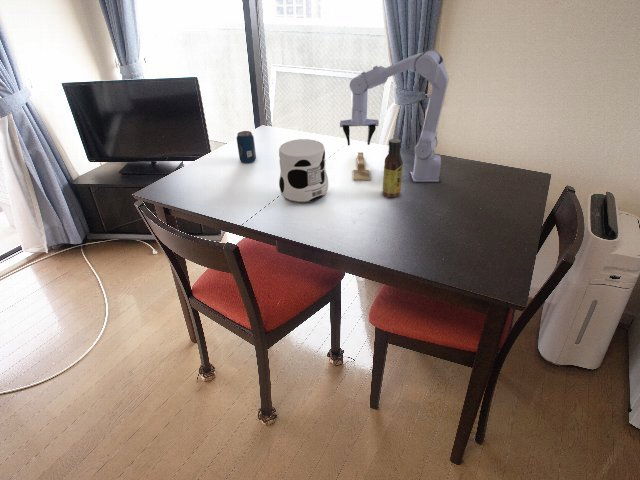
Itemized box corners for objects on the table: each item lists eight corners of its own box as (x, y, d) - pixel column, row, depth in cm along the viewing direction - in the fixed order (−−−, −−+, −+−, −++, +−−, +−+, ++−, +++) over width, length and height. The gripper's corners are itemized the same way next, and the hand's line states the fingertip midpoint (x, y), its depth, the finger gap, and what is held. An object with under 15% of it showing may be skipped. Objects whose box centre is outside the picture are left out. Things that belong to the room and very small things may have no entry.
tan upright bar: (369, 180, 158) (370, 173, 157) (353, 180, 158) (354, 173, 157) (367, 158, 175) (367, 152, 173) (352, 158, 175) (352, 152, 173)
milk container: (290, 181, 159) (287, 136, 149) (334, 186, 155) (333, 140, 145) (272, 203, 146) (267, 155, 136) (320, 209, 141) (318, 160, 131)
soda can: (238, 159, 178) (233, 132, 171) (253, 156, 180) (250, 129, 173) (242, 165, 173) (238, 137, 166) (258, 162, 175) (255, 134, 168)
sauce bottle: (399, 199, 146) (404, 145, 134) (381, 198, 147) (384, 144, 135) (400, 190, 151) (405, 137, 139) (383, 189, 152) (386, 136, 141)
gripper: (377, 105, 158) (376, 139, 166) (339, 106, 159) (339, 140, 166) (379, 111, 153) (378, 146, 160) (340, 112, 153) (340, 147, 161)
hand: (358, 144), depth 163 cm, fingers open, 7 cm apart
